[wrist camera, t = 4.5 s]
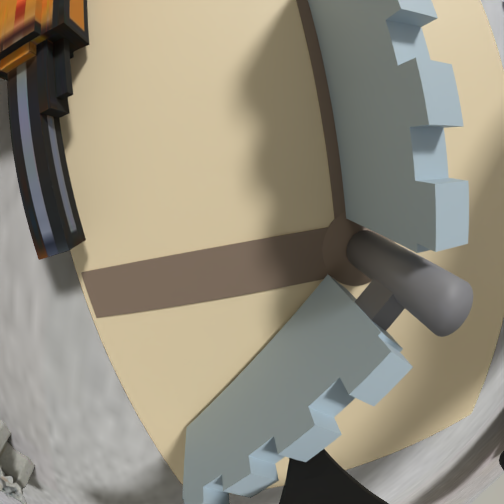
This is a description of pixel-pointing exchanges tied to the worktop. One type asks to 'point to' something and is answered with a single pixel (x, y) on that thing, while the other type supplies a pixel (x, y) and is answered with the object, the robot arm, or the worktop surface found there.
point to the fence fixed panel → (393, 121)
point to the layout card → (258, 209)
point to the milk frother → (502, 460)
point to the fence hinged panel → (318, 370)
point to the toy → (42, 111)
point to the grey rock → (13, 467)
